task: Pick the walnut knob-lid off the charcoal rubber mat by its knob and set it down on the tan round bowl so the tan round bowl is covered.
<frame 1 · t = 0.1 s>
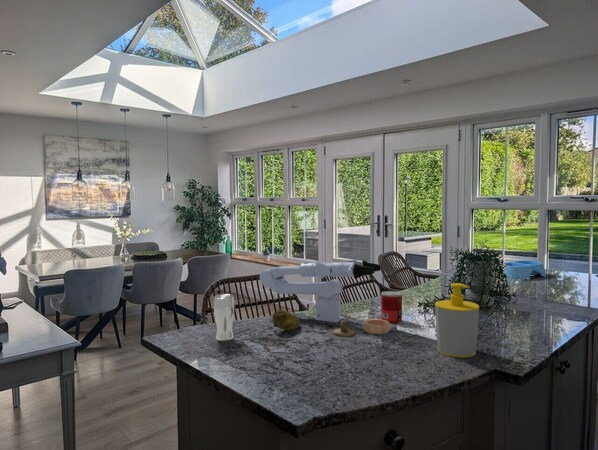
hand: (377, 269, 163), 22 cm above the kitchen island, tool horizontal, fingers open, 7 cm apart
potato: (287, 330, 160), on the kitchen island
tan round bowl: (376, 331, 157), on the kitchen island
lid: (344, 333, 153), resting on mat
soap bottle: (456, 351, 135), on the kitchen island
beer glass: (224, 338, 151), on the kitchen island
mat: (344, 334, 153), on the kitchen island
canned food: (391, 321, 171), on the kitchen island
dog bowl: (521, 277, 265), on the kitchen island
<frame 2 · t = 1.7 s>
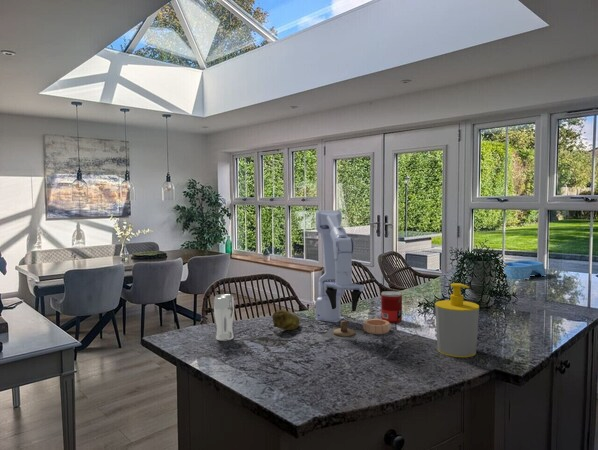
hand: (343, 309, 153), 9 cm above the kitchen island, tool pointing down, fingers open, 7 cm apart
nothing on the kitchen island moved.
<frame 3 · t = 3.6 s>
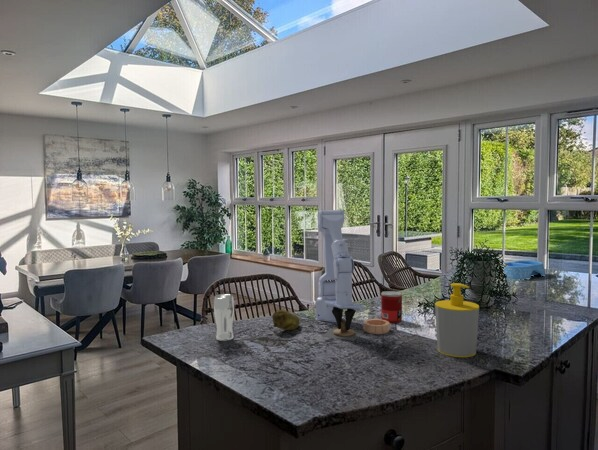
hand: (344, 329, 153), 2 cm above the kitchen island, tool pointing down, fingers closed on lid, 2 cm apart
lid: (344, 333, 153), resting on mat, touching gripper
everything else where it was.
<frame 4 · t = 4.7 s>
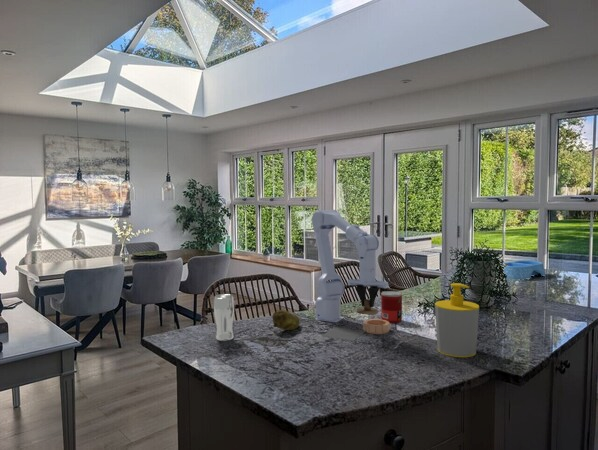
hand: (367, 306, 155), 9 cm above the kitchen island, tool pointing down, fingers closed on lid, 2 cm apart
lid: (367, 312, 155), point 7 cm above the kitchen island, touching gripper
everything else where it was.
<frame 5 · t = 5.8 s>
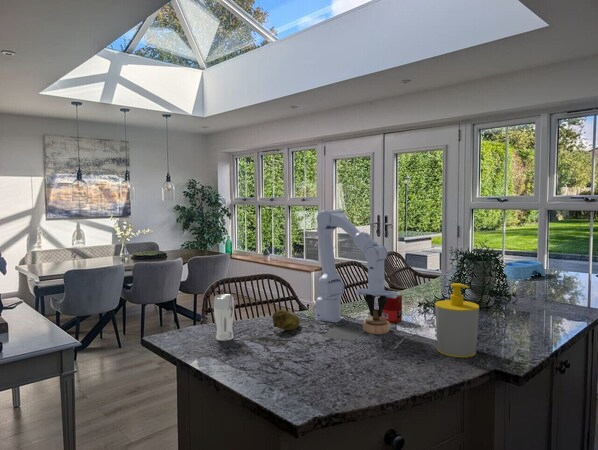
hand: (376, 315, 157), 6 cm above the kitchen island, tool pointing down, fingers closed on lid, 2 cm apart
lid: (376, 321, 156), point 3 cm above the kitchen island, touching gripper
everything else where it was.
when the fingers open (6 cm above the kitchen island, at t = 6.3 s): lid stays where it is, resting on tan round bowl.
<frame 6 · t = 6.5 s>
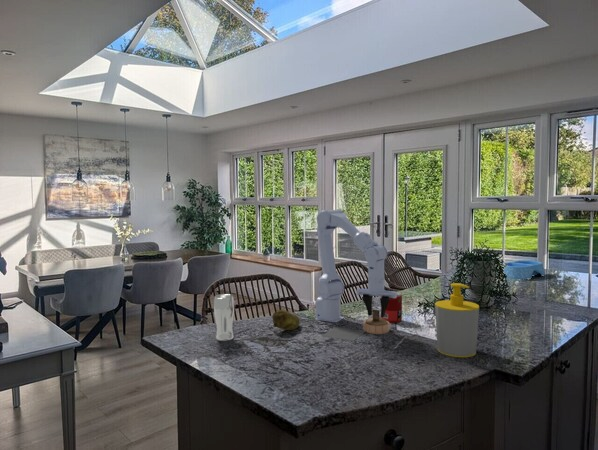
hand: (376, 315, 157), 6 cm above the kitchen island, tool pointing down, fingers open, 4 cm apart
lid: (376, 322, 157), point 3 cm above the kitchen island, touching tan round bowl
everything else where it was.
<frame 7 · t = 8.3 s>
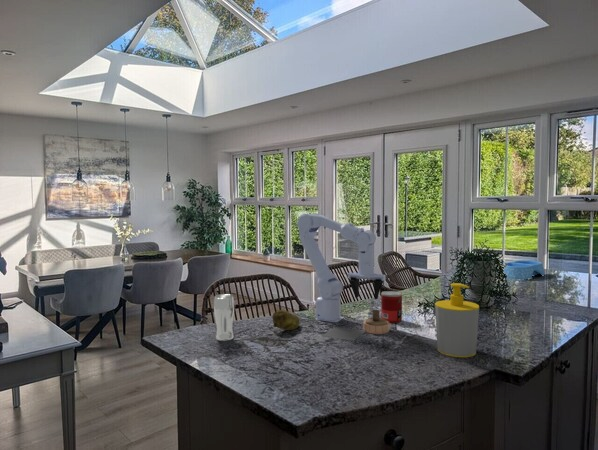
hand: (366, 298, 164), 10 cm above the kitchen island, tool pointing down, fingers open, 7 cm apart
nothing on the kitchen island moved.
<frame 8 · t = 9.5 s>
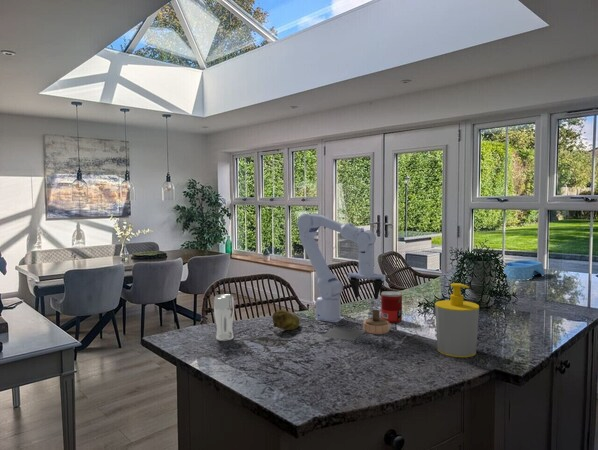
hand: (366, 298, 164), 10 cm above the kitchen island, tool pointing down, fingers open, 7 cm apart
nothing on the kitchen island moved.
at the end: lid 0.4 cm off-centre on the tan round bowl, point 3.2 cm above the tan round bowl's base; lid tilted 0°; the gripper is holding nothing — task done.
